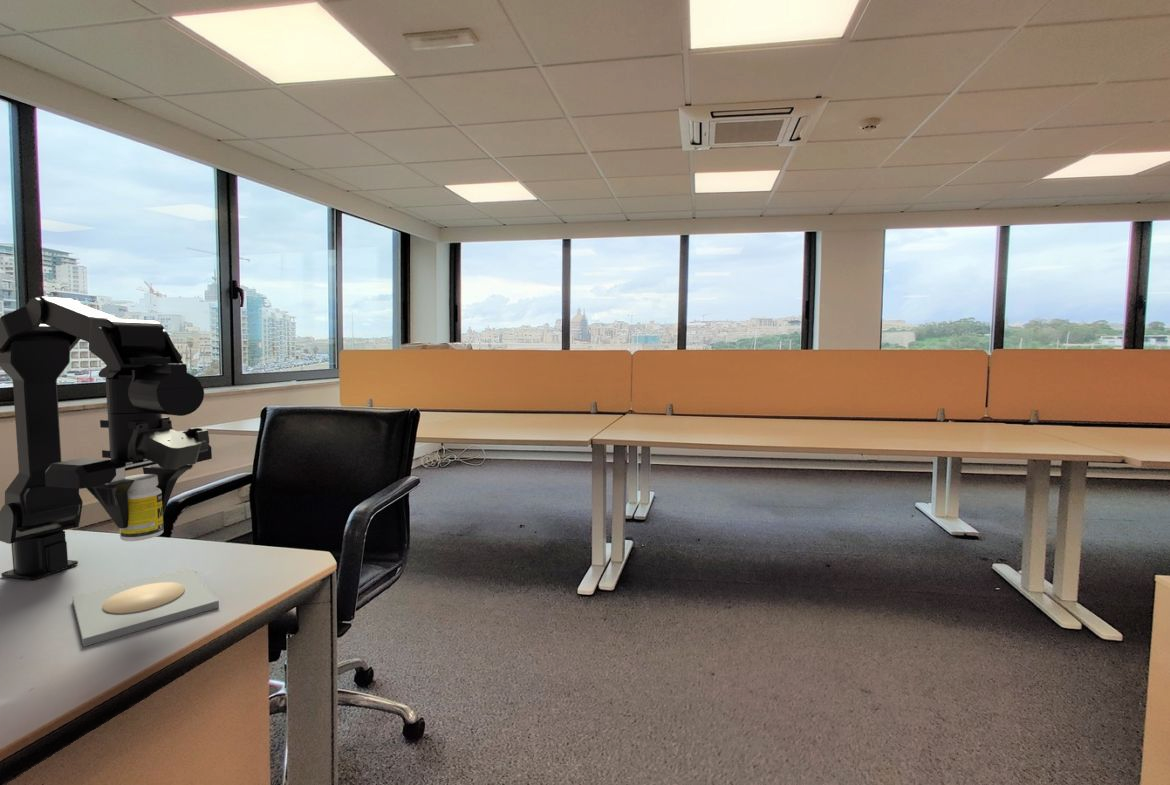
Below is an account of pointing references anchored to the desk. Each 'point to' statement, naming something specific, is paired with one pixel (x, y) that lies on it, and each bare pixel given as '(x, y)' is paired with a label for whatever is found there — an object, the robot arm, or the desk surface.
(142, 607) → the slate board
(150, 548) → the desk surface
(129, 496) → the supplement bottle
